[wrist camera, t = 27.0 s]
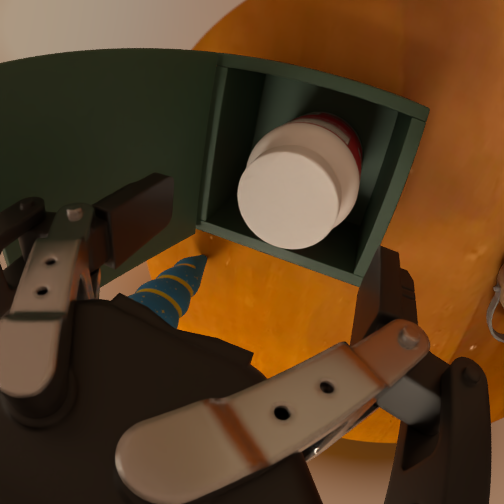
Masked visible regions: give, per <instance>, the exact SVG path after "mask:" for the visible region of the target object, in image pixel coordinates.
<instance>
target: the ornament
mask: <svg viewBox="0 0 504 504" xmlns="http://www.w3.org/2000/svg"><path fill="white" fill-rule="evenodd" d="M206 262H207V257H206V256H205V255H200V256H194V257H188V258H184V259H182V260H180V261H179V262H177V263H176V264H175V265H174V267H172V268H170V269H167V270H165V271H164V272H162V273H161V274H160V275H159V276H158V277H157V278H156V279H155V280H151V281H149V282H147V283H145V284H143V285H142V286H140V287H139V288H138V290H137V291H136V292H135V294H133V295H130V296H128V297H129V298H131V299H133V300H135V301H137V302H139V303H141V304H143V305H145V306H147V307H149V308H150V309H151V310H152V311H154V312H155V313H156V314H157V315H158V316H160V317H161V318H162V319H163V320H165V321H166V322H167V323H168V324H170V325H171V326H172V327H174V328H175V329H177V326H178V322H179V318H180V317H182V316H183V315H184V314H185V313H186V312H187V310H188V307H189V304H190V299H191V297H192V296H193V295H195V293H196V292H197V291H198V288H199V286H200V283H201V279H202V275H203V272H204V268H205V265H206Z"/></svg>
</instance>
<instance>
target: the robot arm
mask: <svg viewBox="0 0 504 504" xmlns="http://www.w3.org/2000/svg"><path fill="white" fill-rule="evenodd" d="M173 195H174V179H173V177H171V176H167V175H164V174H160V173H157V172H154V173H152V174H150V175H148V176H147V177H145V178H143V179H141V180H139V181H137V182H133V183H129V184H127V185H126V186H124V187H122V188H120V190H119V189H118V190H117V191H115V192H113V194H112V193H111V194H110V195H108V196H106V197H104V198H103V199H101V200H99V201H98V202H96V203H94V204H93V205H90V204H88V203H83V202H76V203H71V204H67V205H65V206H63V207H61V208H60V209H59V210H58V211H57V213H56V212H48V211H46V210H45V203H44V200H43V199H42V198H40V197H28V198H25V199H22V200H20V201H18V202H16V203H15V204H13V205H11V206H10V207H8V208H7V209H5V210H3V211H2V212H0V254H1V252H2V250H3V249H4V248H6V247H7V246H8V245H10V244H11V243H12V242H14V241H15V240H16V239H18V240H19V244H20V248H21V251H22V255H21V256H20V257H19V258H18V259H16V260H15V261H14V262H13V263H11V264H10V265H9V266H8V267H7V268H5V270H2V267H1V265H0V504H323V503H322V501H321V498H320V495H319V493H318V491H317V488H316V486H315V483H314V481H313V479H312V476H311V473H310V471H309V468H308V466H307V462H308V461H310V460H311V459H313V458H314V457H316V456H317V455H318V454H320V453H321V452H323V451H324V450H326V449H327V448H328V447H329V446H331V445H332V444H333V443H334V442H336V441H337V440H338V439H340V438H341V437H342V436H344V435H345V434H346V433H348V432H349V431H350V430H352V429H353V428H354V427H356V426H357V425H358V424H359V423H361V422H362V421H363V420H365V419H366V418H367V417H368V416H370V415H371V414H372V413H373V412H374V411H376V410H377V409H378V408H379V407H381V408H382V409H384V410H385V411H387V412H389V413H390V414H392V415H393V416H395V417H396V418H398V419H400V420H401V422H400V429H399V435H398V441H397V447H396V452H395V457H394V463H393V468H392V472H391V477H390V481H389V486H388V490H387V494H386V498H385V502H384V504H489V496H490V483H491V420H490V405H489V394H488V384H487V378H486V376H485V373H484V372H483V370H482V369H481V367H480V366H479V365H478V364H477V363H476V362H474V361H473V360H471V359H469V358H466V357H459V358H457V359H455V360H454V361H453V362H452V364H451V365H449V364H448V363H446V362H444V361H443V360H441V359H440V358H438V357H437V356H435V355H434V354H432V353H431V352H430V351H429V350H430V342H429V339H428V336H427V335H426V333H425V332H424V331H423V330H422V329H421V328H420V327H419V326H418V321H417V309H416V301H415V293H414V291H415V290H414V281H413V279H412V278H411V276H410V274H409V273H408V271H407V270H404V269H402V268H400V260H399V253H398V252H396V251H393V250H390V249H388V248H385V247H382V246H378V248H377V250H376V252H375V254H374V256H373V258H372V261H371V263H370V265H369V267H368V269H367V272H366V274H365V276H364V278H363V280H362V282H361V285H360V288H359V291H358V295H357V302H356V309H355V316H354V323H353V329H352V335H351V341H350V346H349V345H348V344H347V343H346V342H340V343H338V344H336V345H334V346H332V347H330V348H328V349H327V350H325V351H323V352H321V353H319V354H317V355H315V356H313V357H311V358H310V359H308V360H306V361H304V362H302V363H300V364H298V365H296V366H294V367H292V368H290V369H288V370H286V371H284V372H281V373H279V374H277V375H275V376H273V377H271V378H269V379H267V378H266V377H265V376H264V375H263V374H262V373H261V372H260V371H259V370H257V369H256V368H255V367H253V366H252V365H251V364H250V363H251V360H252V357H253V354H254V353H253V352H250V351H248V350H245V349H243V348H240V347H238V346H235V345H233V344H230V343H228V342H225V341H223V340H221V339H218V338H215V337H210V336H205V335H200V334H195V333H191V332H186V331H182V330H178V329H175V328H174V327H172V326H171V325H170V324H168V323H167V322H166V321H165V320H163V319H162V318H161V317H160V316H158V315H157V314H156V313H155V312H154V311H152V310H151V309H150V308H149V307H147V306H145V305H143V304H141V303H139V302H137V301H135V300H133V299H131V298H129V297H127V296H125V295H123V294H121V293H119V294H117V296H116V297H114V298H113V300H111V301H109V300H102V299H99V291H100V280H101V269H100V266H102V265H103V264H104V265H106V266H108V267H110V268H112V269H114V270H116V269H117V268H118V267H119V266H120V265H121V264H123V263H124V262H125V261H126V260H127V259H128V258H130V257H131V256H132V255H133V254H134V253H135V252H137V251H138V250H139V249H140V248H141V247H143V246H144V245H145V244H146V243H147V242H149V241H150V240H151V239H152V238H153V237H155V236H156V235H157V234H158V233H159V232H161V231H162V230H163V229H164V228H166V227H167V225H168V224H169V222H170V220H171V217H172V212H173Z"/></svg>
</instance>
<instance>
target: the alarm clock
mask: <svg viewBox="0 0 504 504" xmlns="http://www.w3.org/2000/svg"><path fill="white" fill-rule="evenodd" d="M493 290H494V291H495V295H494V297H493V299H492V301H491V303H490V304H489V307H488V310H487V324H488V327H489V329H490V332H491V334H492V335H493V337H494V338H495V339H497V340H498V341H501V342H504V334H500V333H497V332H496V331H495V330H494V329H493V328H492V316H493V313H494V310H495V308H496V306H497V305H498V302H499V300H500V303H501V305H502V306H503V308H504V264H503V265H502V267H501V268H500V270H499V273H498V277H497V285H496V286H494V288H493Z"/></svg>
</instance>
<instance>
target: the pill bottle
mask: <svg viewBox="0 0 504 504" xmlns="http://www.w3.org/2000/svg"><path fill="white" fill-rule="evenodd" d="M362 158H363V152H362V145H361V141H360V139H359V136H358V134H357V133H356V131H355V130H354V129H353V127H352V126H351V125H350V124H349V123H348V122H347V121H345V120H344V119H342V118H341V117H339V116H337V115H334V114H331V113H327V112H312V113H307V114H304V115H302V116H300V117H297V118H296V119H293V120H292V121H289V122H287V123H285V124H284V125H281V126H279V127H277V128H275V129H273V130H272V131H270V132H269V133H267V134H266V135H265V136H264V137H263V138H262V139H261V140H260V141H259V142H258V143H257V144H256V145H255V147H254V149H253V150H252V152H251V154H250V156H249V159H248V162H247V167H246V169H245V171H244V172H243V174H242V176H241V178H240V181H239V185H238V192H237V198H238V205H239V209H240V212H241V215H242V217H243V219H244V221H245V222H246V224H247V225H248V227H249V228H250V229H251V230H252V231H253V232H254V233H255V234H256V235H257V236H258V237H259V238H261V239H262V240H263V241H265V242H267V243H269V244H271V245H273V246H276V247H279V248H284V249H302V248H306V247H309V246H312V245H314V244H316V243H318V242H319V241H321V240H322V239H323V238H325V237H326V236H327V235H328V234H329V232H330V231H331V230H332V229H333V228H334V227H336V226H337V225H339V224H340V223H341V222H342V221H343V220H344V219H345V218H346V217H347V216H348V214H349V213H350V212H351V210H352V208H353V206H354V204H355V202H356V199H357V196H358V191H359V185H360V176H361V168H362Z"/></svg>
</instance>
